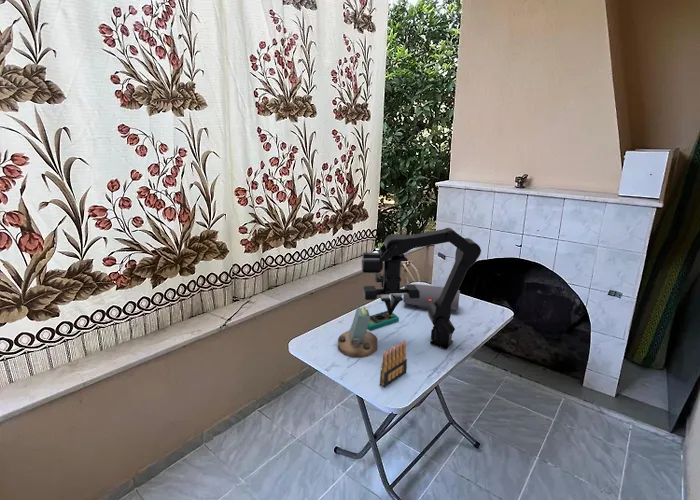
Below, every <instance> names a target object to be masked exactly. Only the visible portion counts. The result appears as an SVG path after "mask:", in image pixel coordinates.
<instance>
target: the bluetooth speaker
mask: <svg viewBox="0 0 700 500" xmlns="http://www.w3.org/2000/svg"><path fill="white" fill-rule="evenodd" d="M405 285H415V286H416V287H417V288H418V290H419V291H420V297H419V298H410V297H409V296H408V295H409V294H403V296H402V298H403V301H402V302H403V303H404V304H408V305H413V306H417V307H418V308H420V309H426V310H427V309H428V308H429V306H430V304H431V301H432V300H433V301H436V300H438V299H439V297H440V295H441V293H442V291H443V288H444V286H435V285H429V284H417V283H405ZM405 285H404V286H405ZM460 295H461V290H459V289H458V292H457V294H456V296H455V298H454V300H453V303H452V305H451V311H452V310H453V311H458V310H459V301H460Z"/></svg>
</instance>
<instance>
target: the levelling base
mask: <svg viewBox="0 0 700 500" xmlns="http://www.w3.org/2000/svg"><path fill="white" fill-rule="evenodd" d="M337 348H338V350H339V352H340V353H342V354H343V355H345V356H346V357H351V358H359V359H361V358H366V357H370V356H372V355H374V354H376V352H377V351H378V348H379V339H378V337H377V336H376V334H374V333H372V332H371V331H369V330H368V331H367V330H366V333H365V336H364V339H363V343H359V338H353V341H351V337H350V330H348V331H345V332H342V333H341V334H340V335H339V337H338V338H337Z"/></svg>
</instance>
